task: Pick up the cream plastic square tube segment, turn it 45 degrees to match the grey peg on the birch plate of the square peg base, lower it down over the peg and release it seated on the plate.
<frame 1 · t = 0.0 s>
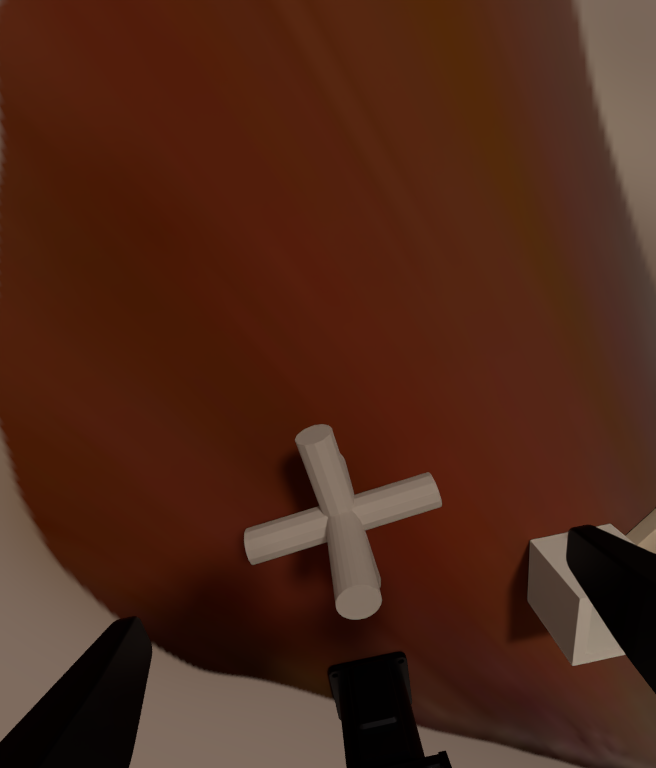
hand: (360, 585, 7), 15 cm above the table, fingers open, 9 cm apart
pipe connector: (331, 462, 24), on the table
square tube segment: (567, 563, 28), on the table
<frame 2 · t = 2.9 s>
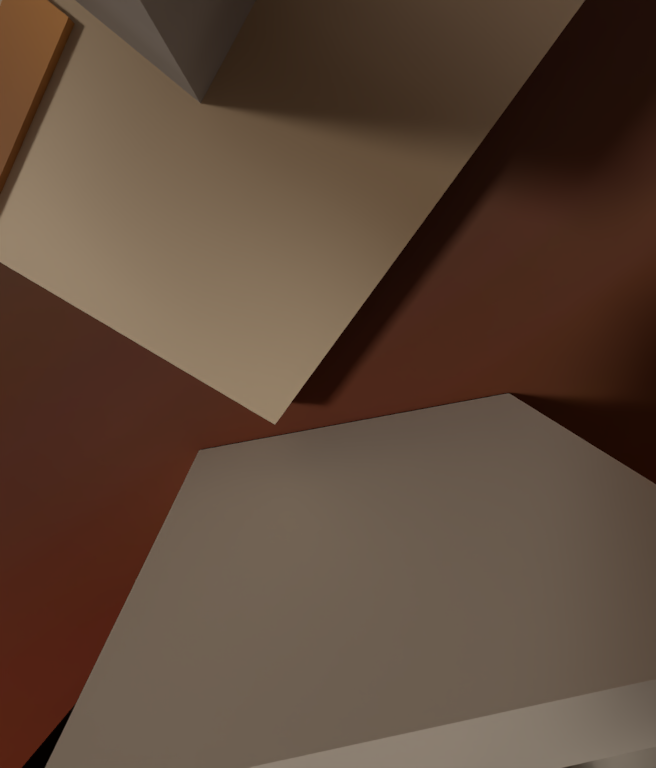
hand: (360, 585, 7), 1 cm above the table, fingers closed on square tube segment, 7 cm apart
square tube segment: (374, 543, 8), on the table, touching gripper
when the fingers open (3 cm above the table, at t = 7.7 s): square tube segment drops 1 cm, resting on square peg base.
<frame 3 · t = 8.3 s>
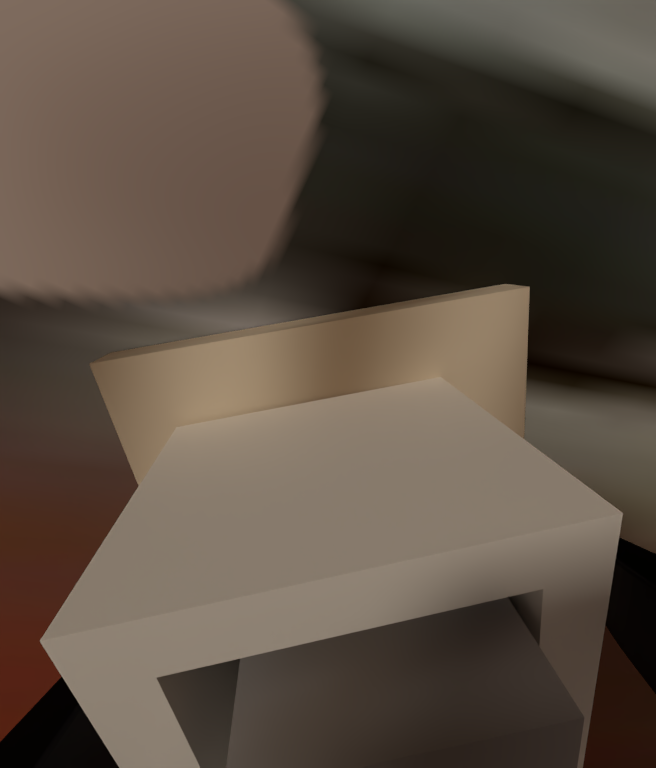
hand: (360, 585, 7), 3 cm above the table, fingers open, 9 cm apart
square peg base: (340, 483, 11), on the table
square tube segment: (331, 509, 10), point 1 cm above the table, touching square peg base
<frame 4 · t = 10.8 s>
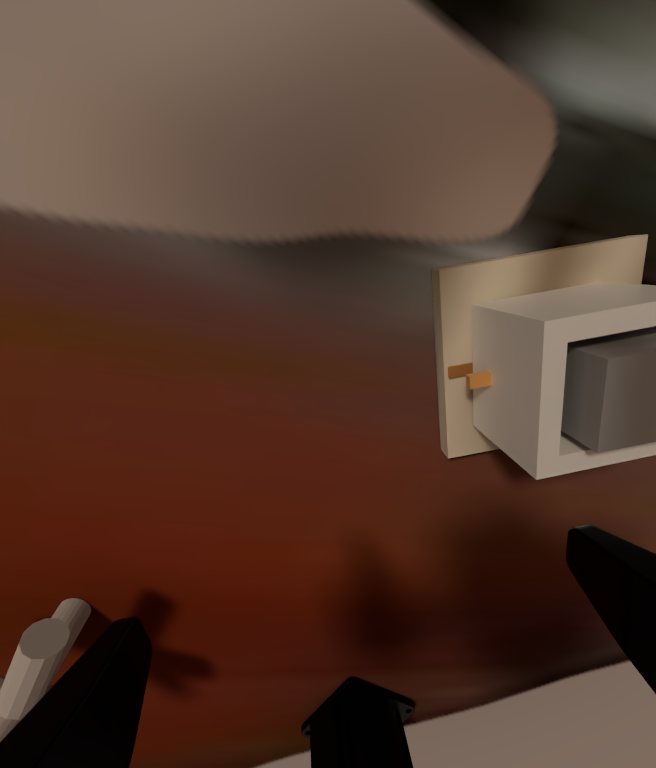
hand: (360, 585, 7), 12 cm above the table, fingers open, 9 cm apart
pipe connector: (77, 606, 22), on the table
square peg base: (527, 351, 19), on the table
square tube segment: (533, 357, 18), point 1 cm above the table, touching square peg base
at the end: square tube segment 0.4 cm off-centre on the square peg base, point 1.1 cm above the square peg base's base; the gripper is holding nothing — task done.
